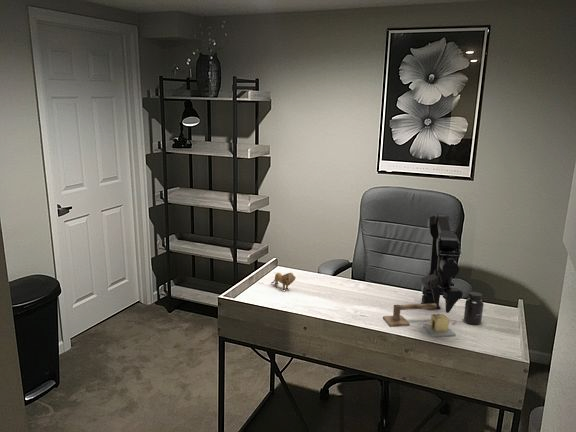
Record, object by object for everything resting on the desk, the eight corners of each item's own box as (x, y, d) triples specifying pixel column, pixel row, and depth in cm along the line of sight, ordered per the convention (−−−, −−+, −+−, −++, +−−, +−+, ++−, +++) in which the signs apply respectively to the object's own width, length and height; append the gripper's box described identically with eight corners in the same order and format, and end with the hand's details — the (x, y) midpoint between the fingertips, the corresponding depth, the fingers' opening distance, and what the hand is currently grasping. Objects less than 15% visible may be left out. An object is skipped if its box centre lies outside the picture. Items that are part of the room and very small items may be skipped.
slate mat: (444, 325, 189) (444, 324, 189) (455, 336, 181) (455, 334, 181) (423, 326, 188) (423, 325, 188) (433, 337, 179) (433, 335, 179)
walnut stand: (430, 316, 198) (431, 300, 197) (439, 324, 191) (440, 308, 189) (382, 318, 195) (384, 302, 194) (390, 326, 187) (391, 310, 186)
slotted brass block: (442, 327, 187) (443, 313, 186) (448, 332, 182) (449, 318, 181) (430, 327, 186) (431, 314, 185) (435, 332, 182) (437, 319, 180)
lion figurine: (297, 291, 223) (297, 272, 221) (289, 293, 219) (289, 275, 217) (274, 283, 233) (275, 265, 231) (266, 285, 229) (267, 267, 227)
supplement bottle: (479, 326, 189) (482, 298, 187) (461, 322, 193) (464, 294, 190) (482, 320, 195) (486, 293, 193) (465, 316, 199) (468, 289, 196)
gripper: (414, 261, 187) (411, 299, 190) (436, 277, 169) (432, 318, 172) (441, 261, 189) (437, 298, 192) (465, 276, 171) (461, 317, 174)
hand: (441, 307), depth 182 cm, fingers open, 9 cm apart
